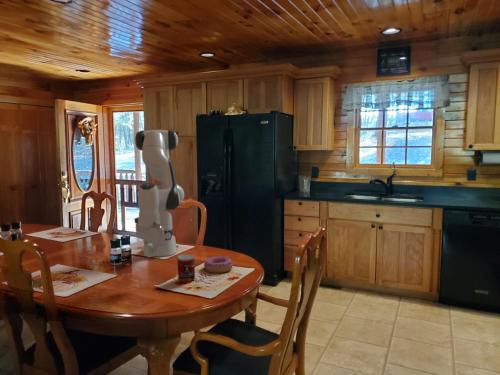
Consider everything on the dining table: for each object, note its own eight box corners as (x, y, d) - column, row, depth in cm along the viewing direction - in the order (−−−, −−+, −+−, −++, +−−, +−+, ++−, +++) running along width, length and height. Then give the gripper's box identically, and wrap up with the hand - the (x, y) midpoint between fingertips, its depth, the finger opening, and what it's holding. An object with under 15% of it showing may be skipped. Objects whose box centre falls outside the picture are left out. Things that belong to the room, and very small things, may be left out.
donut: (219, 276, 177) (219, 265, 177) (198, 270, 186) (197, 260, 185) (238, 268, 188) (238, 258, 188) (217, 262, 197) (217, 253, 196)
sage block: (143, 255, 166) (143, 244, 166) (153, 252, 169) (152, 242, 169) (148, 257, 163) (148, 247, 162) (158, 255, 166) (157, 245, 165)
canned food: (178, 284, 167) (178, 260, 166) (177, 277, 175) (176, 255, 174) (196, 282, 169) (195, 258, 168) (193, 276, 177) (193, 253, 176)
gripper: (168, 223, 158) (169, 255, 160) (145, 216, 173) (146, 245, 175) (154, 226, 154) (156, 258, 156) (132, 218, 169) (134, 248, 171)
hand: (151, 251), depth 166 cm, fingers closed on sage block, 5 cm apart
